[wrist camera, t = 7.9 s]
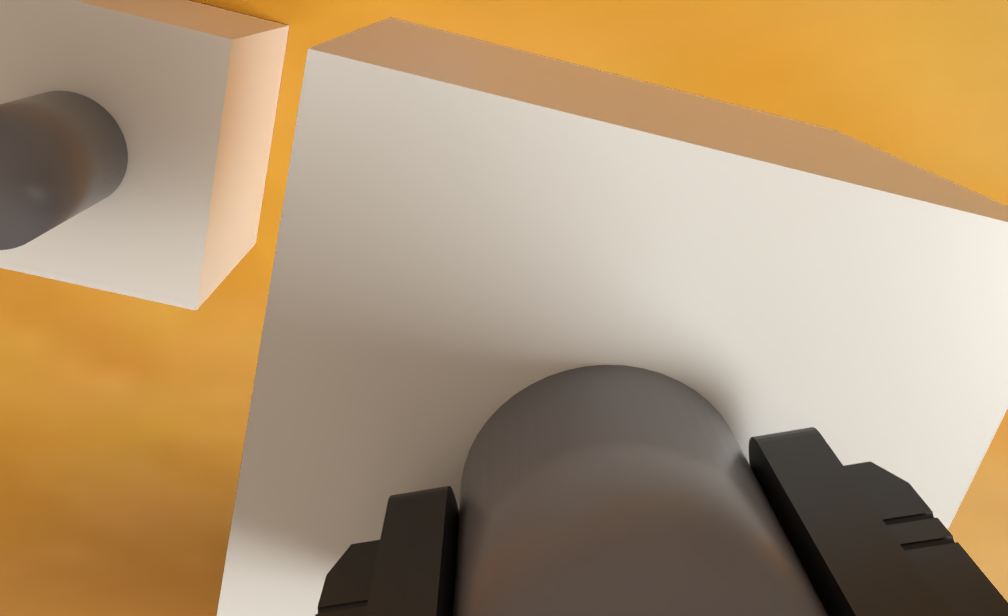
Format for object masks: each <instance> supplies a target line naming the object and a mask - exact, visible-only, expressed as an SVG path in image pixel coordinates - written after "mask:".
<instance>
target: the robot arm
mask: <svg viewBox="0 0 1008 616" xmlns="http://www.w3.org/2000/svg"><path fill="white" fill-rule="evenodd" d="M749 463H750V467H751V469H752V471H753V472H754V474H755V476H756V478H757V480H758V482H759V484H760V486H761V488H762V490H763V491H764V493H765V495H766V497H767V499H768V501H769V503H770V505H771V507H772V508H773V510H774V512H775V514H776V516H777V518H778V520H779V522H780V524H781V526H782V527H783V529H784V531H785V533H786V535H787V537H788V539H789V541H790V543H791V545H792V546H793V548H794V550H795V552H796V554H797V556H798V558H799V560H800V562H801V564H802V565H803V567H804V569H805V571H806V573H807V575H808V577H809V579H810V581H811V583H812V584H813V586H814V588H815V590H816V592H817V594H818V596H819V598H820V600H821V602H822V603H823V605H824V607H825V609H826V611H827V613H828V615H829V616H1008V603H1007V601H1006V600H1005V599H1004V598H1003V596H1002V595H1001V594H1000V593H999V592H998V590H997V589H996V588H995V587H994V586H993V584H992V583H991V582H990V581H989V579H988V578H987V577H986V576H985V575H984V573H983V572H982V571H981V570H980V569H979V567H978V566H977V565H976V564H975V562H974V561H973V560H972V559H971V558H970V556H969V555H968V554H967V553H966V552H965V550H964V549H963V548H962V547H961V545H960V544H959V543H958V542H957V543H955V542H954V540H953V536H952V535H951V533H950V532H949V531H948V530H947V528H946V527H945V526H944V525H943V524H942V522H941V521H940V520H939V519H938V518H934V516H933V511H932V510H931V509H930V508H929V507H928V505H927V504H926V503H925V502H924V501H923V499H922V498H921V497H920V496H919V494H918V493H917V492H916V491H915V490H914V488H913V487H912V486H911V485H910V484H909V483H908V482H907V481H905V480H903V479H901V478H899V477H898V476H896V475H894V474H892V473H890V472H889V471H887V470H885V469H883V468H881V467H880V466H878V465H876V464H874V463H873V462H871V461H870V462H863V463H857V464H851V465H845V466H843V464H842V463H841V462H840V460H839V459H838V457H837V456H836V455H835V453H834V452H833V450H832V449H831V448H830V446H829V445H828V444H827V442H826V441H825V439H824V438H823V437H822V435H821V434H820V432H819V431H818V430H817V429H816V428H814V427H810V428H804V429H797V430H791V431H785V432H779V433H773V434H767V435H761V436H755V437H751V438H750V440H749ZM458 522H459V510H458V506H457V502H456V498H455V495H454V492H453V490H452V488H451V486H445V487H439V488H433V489H427V490H421V491H414V492H408V493H402V494H396V495H391V496H390V497H389V499H388V503H387V508H386V513H385V518H384V523H383V528H382V533H381V538H380V540H374V541H368V542H362V543H356V544H351V545H350V547H349V548H348V549H347V550H346V551H345V553H344V554H343V555H342V556H341V558H340V559H339V560H338V561H337V563H336V564H335V565H334V566H333V567H332V569H331V570H330V571H329V572H328V574H327V575H326V578H325V582H324V585H323V589H322V593H321V596H320V600H319V603H318V607H317V608H318V614H315V616H453V600H454V585H455V569H456V553H457V538H458Z"/></svg>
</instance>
